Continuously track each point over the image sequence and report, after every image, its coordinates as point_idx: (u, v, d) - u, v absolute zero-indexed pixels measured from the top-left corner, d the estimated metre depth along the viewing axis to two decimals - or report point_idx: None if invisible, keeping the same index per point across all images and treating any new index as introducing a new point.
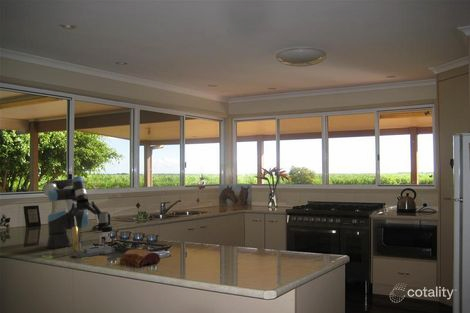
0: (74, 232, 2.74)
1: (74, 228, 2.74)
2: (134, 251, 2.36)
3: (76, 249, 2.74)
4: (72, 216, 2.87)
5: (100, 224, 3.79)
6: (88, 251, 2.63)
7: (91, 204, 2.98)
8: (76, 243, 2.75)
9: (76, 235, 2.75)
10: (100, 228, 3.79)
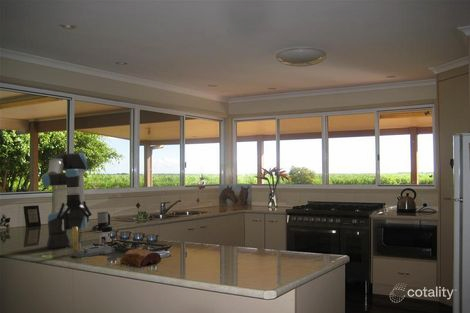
0: (74, 232, 2.74)
1: (74, 228, 2.74)
2: (135, 251, 2.37)
3: (76, 249, 2.74)
4: (60, 219, 2.71)
5: (100, 224, 3.79)
6: (88, 251, 2.63)
7: (82, 204, 2.78)
8: (76, 243, 2.75)
9: (76, 235, 2.75)
10: (100, 228, 3.79)
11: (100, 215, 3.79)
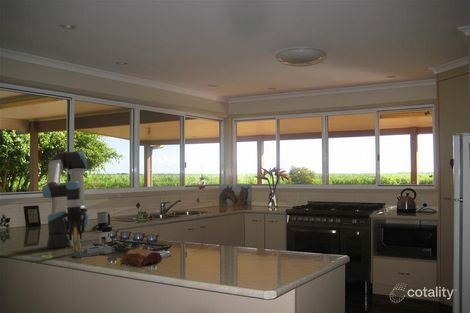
0: (74, 232, 2.74)
1: (74, 228, 2.74)
2: (136, 251, 2.37)
3: (76, 249, 2.74)
4: (70, 234, 2.74)
5: (100, 224, 3.79)
6: (88, 251, 2.63)
7: (82, 218, 2.78)
8: (76, 243, 2.75)
9: (76, 235, 2.75)
10: (100, 228, 3.79)
11: (100, 215, 3.79)
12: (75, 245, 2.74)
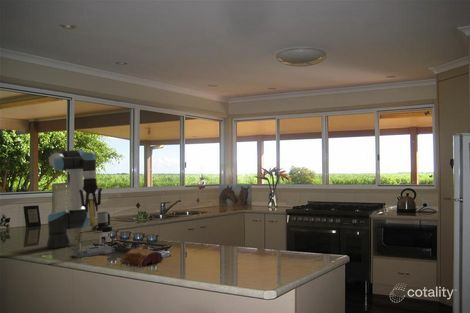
0: (90, 204, 2.68)
1: (90, 200, 2.69)
2: (137, 250, 2.38)
3: (92, 221, 2.68)
4: (86, 206, 2.68)
5: (100, 224, 3.79)
6: (88, 251, 2.63)
7: (98, 190, 2.72)
8: (92, 215, 2.69)
9: (92, 207, 2.69)
10: (100, 228, 3.79)
11: (100, 215, 3.79)
12: (91, 217, 2.68)
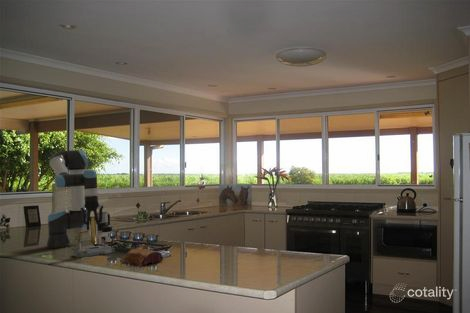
0: (92, 222, 2.68)
1: (92, 218, 2.68)
2: (137, 250, 2.38)
3: (94, 239, 2.68)
4: (88, 224, 2.67)
5: (100, 224, 3.79)
6: (88, 251, 2.63)
7: (99, 207, 2.72)
8: (94, 233, 2.68)
9: (94, 225, 2.69)
10: (100, 228, 3.79)
11: None
12: (93, 235, 2.68)
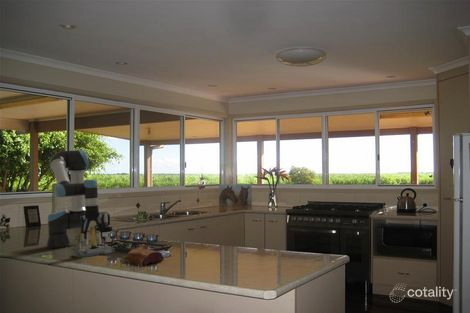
0: (92, 232, 2.68)
1: (92, 228, 2.68)
2: (138, 250, 2.38)
3: None
4: (85, 234, 2.66)
5: (100, 224, 3.79)
6: (88, 251, 2.63)
7: (100, 216, 2.72)
8: (94, 244, 2.68)
9: (94, 235, 2.69)
10: None
11: None
12: (93, 246, 2.68)
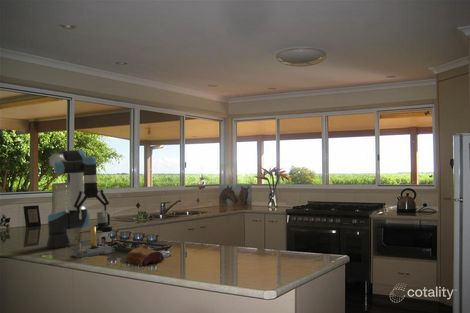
0: (92, 232, 2.68)
1: (92, 228, 2.68)
2: (139, 250, 2.39)
3: None
4: (78, 208, 2.65)
5: (99, 224, 3.79)
6: (88, 251, 2.63)
7: (100, 192, 2.72)
8: (94, 244, 2.68)
9: (94, 235, 2.69)
10: (99, 228, 3.79)
11: (100, 215, 3.79)
12: (93, 246, 2.68)
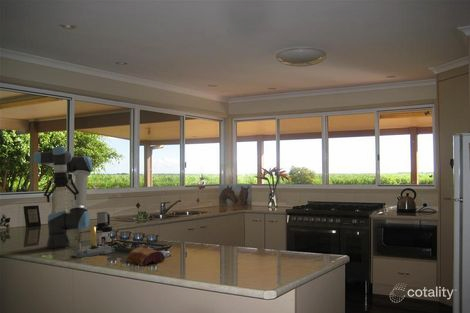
0: (92, 232, 2.68)
1: (92, 228, 2.68)
2: (140, 249, 2.40)
3: None
4: (47, 196, 2.72)
5: (99, 224, 3.79)
6: (88, 251, 2.63)
7: (70, 182, 2.79)
8: (94, 244, 2.68)
9: (94, 235, 2.69)
10: (99, 228, 3.79)
11: (99, 215, 3.79)
12: (93, 246, 2.68)
